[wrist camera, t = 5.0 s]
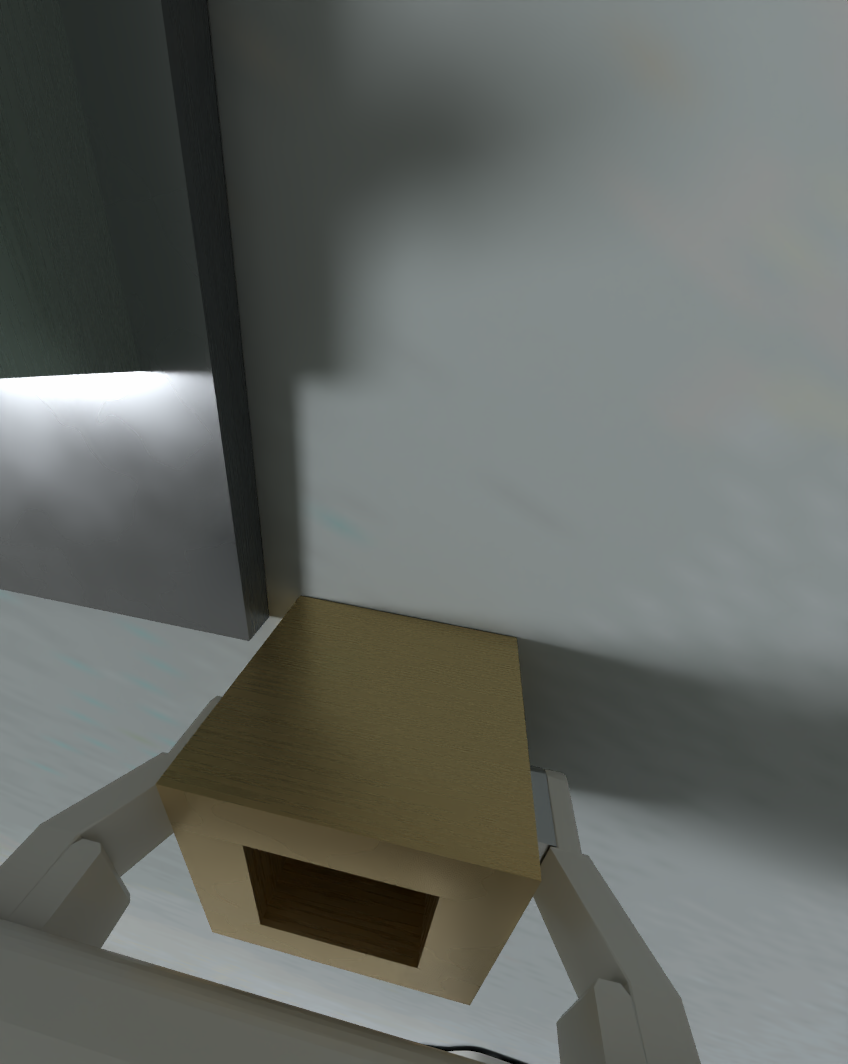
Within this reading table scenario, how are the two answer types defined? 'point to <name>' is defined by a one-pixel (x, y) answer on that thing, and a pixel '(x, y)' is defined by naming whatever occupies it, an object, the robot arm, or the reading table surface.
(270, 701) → the tan square sleeve
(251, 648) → the reading table surface
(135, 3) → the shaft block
